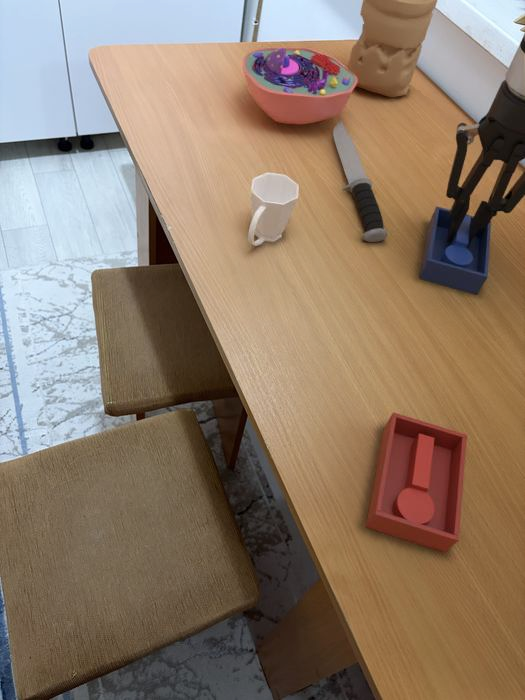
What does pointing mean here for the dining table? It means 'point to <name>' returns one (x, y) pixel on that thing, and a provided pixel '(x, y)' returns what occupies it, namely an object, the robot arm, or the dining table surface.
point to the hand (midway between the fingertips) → (458, 238)
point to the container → (390, 44)
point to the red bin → (441, 486)
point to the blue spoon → (459, 247)
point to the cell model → (298, 83)
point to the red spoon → (417, 484)
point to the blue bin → (446, 272)
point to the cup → (271, 206)
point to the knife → (359, 185)
